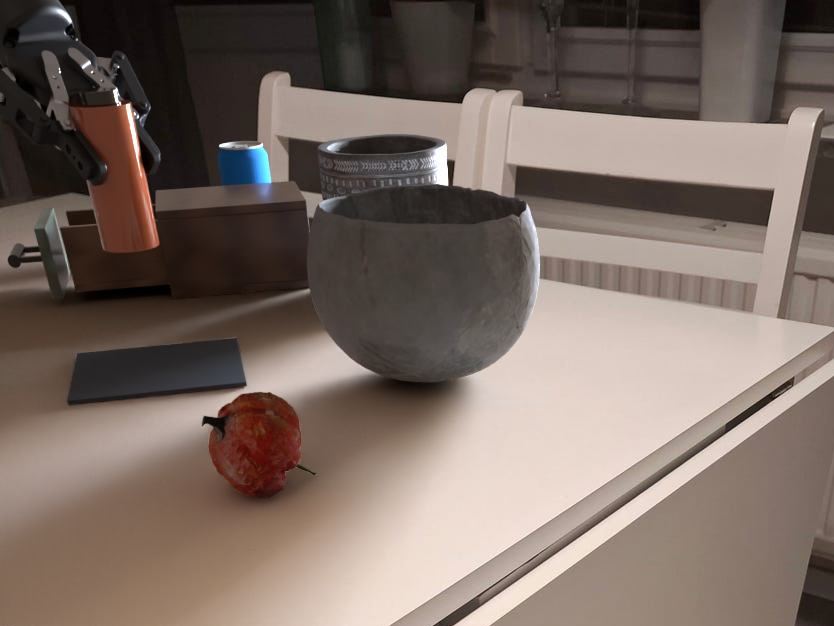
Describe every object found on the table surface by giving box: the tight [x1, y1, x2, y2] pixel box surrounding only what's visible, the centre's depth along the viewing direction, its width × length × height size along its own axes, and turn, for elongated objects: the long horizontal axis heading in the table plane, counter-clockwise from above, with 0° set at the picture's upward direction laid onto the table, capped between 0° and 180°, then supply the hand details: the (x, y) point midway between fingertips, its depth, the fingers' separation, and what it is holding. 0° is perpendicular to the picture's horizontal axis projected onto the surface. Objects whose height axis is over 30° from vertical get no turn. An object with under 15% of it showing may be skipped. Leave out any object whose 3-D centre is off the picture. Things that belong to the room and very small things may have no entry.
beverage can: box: [217, 140, 272, 186], centre depth 134 cm, size 6×6×12 cm
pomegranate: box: [201, 391, 317, 498], centre depth 74 cm, size 7×7×10 cm
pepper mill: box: [69, 87, 160, 253], centre depth 87 cm, size 5×5×12 cm
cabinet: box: [155, 180, 311, 300], centre depth 121 cm, size 17×13×9 cm
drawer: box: [7, 203, 170, 300], centre depth 118 cm, size 20×12×7 cm, turn 104°
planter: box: [317, 133, 449, 201], centre depth 115 cm, size 14×14×15 cm
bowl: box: [307, 184, 541, 384], centre depth 90 cm, size 20×20×15 cm
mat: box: [66, 337, 248, 406], centre depth 97 cm, size 16×14×1 cm
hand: (128, 172), depth 86 cm, fingers closed on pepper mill, 5 cm apart
